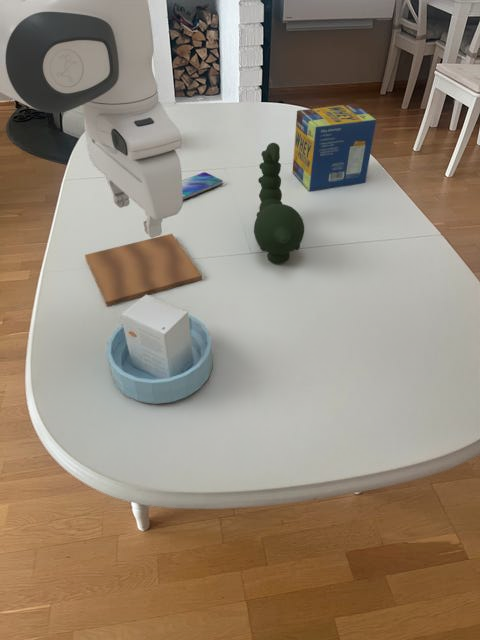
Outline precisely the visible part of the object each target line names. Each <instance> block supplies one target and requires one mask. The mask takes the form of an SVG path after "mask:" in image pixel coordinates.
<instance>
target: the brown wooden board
mask: <svg viewBox="0 0 480 640" xmlns="http://www.w3.org/2000/svg"><path fill="white" fill-rule="evenodd" d="M84 258H85V260H86V262H87V265H88V267H89V270H90V272H91V274H92V277H93V278H94V282H95V283H96V285H97V287H98V289H99V292H100V295H101V297H102V299H103V301H104V303H105V305H106V307H109V306H113V305H116V304H120V303H123V302H126V301H127V302H128V301H132V300H134V299H138V298H142V297H143V296H145V295H146V294H147V295H149V296H150V295H152V294H157V293H159V292H163V291H167V290H170V289H173V288H174V289H175V288H177V287H180V286H184V285H189V284H192V283H195V282H198V281H202V280H203V275H202V274H201V272H200V271H199V269H198V267H197V266H196V265H195V264H194V262H193V261H192V259H191V258H190V257H189V255H188V254H187V252H186V251H185V250H184V248H183V247H182V245H181V244H180V242H179V241H178V239H176V237H175V235H174V234H173V233H168V234H165V235H161V236H160V235H159V236H156V237H153V238H152V237H151V238H147V239H143V240H140V241H136V242H132V243H128V244H124V245H118V246H116V247H112V248H107V249H102V250H98V251H95V252H90V253H87V254H84Z"/></svg>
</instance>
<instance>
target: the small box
mask: <svg viewBox="0 0 480 640" xmlns="http://www.w3.org/2000/svg"><path fill="white" fill-rule="evenodd" d="M189 315H190V314H189V311H188V310H184V309H182V308H180V307H177V306H175V305H172V304H170V303H168V302H166V301H163V300H160V299H158V298H156V297H153V296H151V295H150V294H149V295H147V294H146V295H145V296H142V297H140V299H138V300H137V301H136V302H135V303H134V304H132V305H131V306H129V307H128V308H127V309H126V310H125V311H123V312H122V313H121V314H120V317H121V321H122V324H123V327H124V332H125V336H126V341H127V345H128V350H129V355H130V359H131V364H132V366H134V367H136V368H138V369H140V370H142V371H144V372H146V373H148V374H150V375H152V376H154V377H156V378H158V379H166V378H171V377H174V376H177V375H179V374H182V373H184V372H185V371H186V370H187V369H188V368H189V367H190V366H191V365H192V364H193V353H192V343H191V334H190V324H189Z"/></svg>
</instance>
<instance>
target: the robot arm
mask: <svg viewBox="0 0 480 640" xmlns="http://www.w3.org/2000/svg"><path fill="white" fill-rule="evenodd" d="M153 37H154V36H153V28H152V19H151V11H150V6H149V0H0V94H2V95H5V96H6V97H8V98H11V99H12V100H14V101H16V102H18V103H20V104H22V105H25V106H27V107H29V108H31V109H33V110H35V111H39V112H43V113H47V114H62V113H66V112H69V111H71V110H74V109H76V108H79V107H82V111H83V117H84V118H83V119H84V120H83V121H84V124H83V125H84V133H85V141H86V147H87V153H88V157H89V160H90V162H91V165H92V166H93V167H94V168H96V169H97V171H98V172H100V173H101V174H103V175H104V176H105V180H106V182H107V185H108V187H109V189H110V191H111V194H112V200H113V203H114V205H116V206H117V207H118V208H121V209H122V208H124V207H128V206H129V205H130V200H131V201H133V203H135V204H136V205H137V206H138V207H140V208H141V209H142V210H143V211H144V214H145V216H146V220H144V221H143V227H144V233H146V234H147V235H148V237H150V238H151V239H152V238H156V237H160V235H161V234H162V233H163V229H162V222H163V220H164V219H168V218H170V217H173V216H177V215H178V214H179V213H180V211H181V210H182V208H183V202H184V200H183V194H182V180H183V179H182V178H183V177H182V166H181V161H180V157H179V155H178V153H177V151H176V150H177V149H180V148H181V147H182V135H181V132H180V129H179V128H178V127H177V125H175V123H174V122H173V120H172V119H171V118H170V117H169V115H168V114H167V112H166V110H165V108H164V106H163V104H162V102H161V101H159V91H158V84H157V80H156V78H155V75H154V72H153V56H154V38H153Z"/></svg>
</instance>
